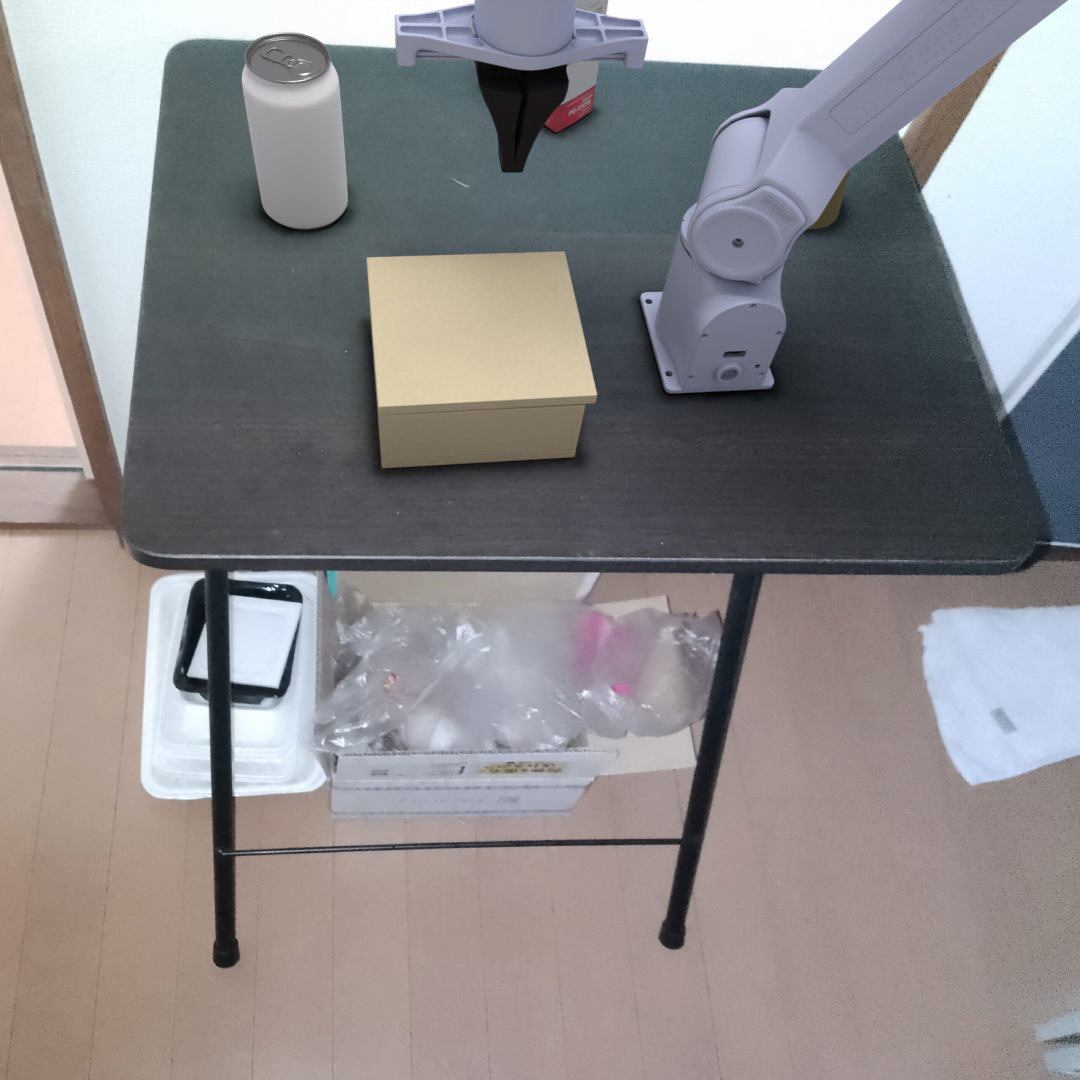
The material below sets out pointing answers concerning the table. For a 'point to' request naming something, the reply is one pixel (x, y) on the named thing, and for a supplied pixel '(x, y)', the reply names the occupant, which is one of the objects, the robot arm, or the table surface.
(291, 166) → the can
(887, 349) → the table surface
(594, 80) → the ink box
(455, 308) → the box lid
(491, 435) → the beige box
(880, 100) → the robot arm
